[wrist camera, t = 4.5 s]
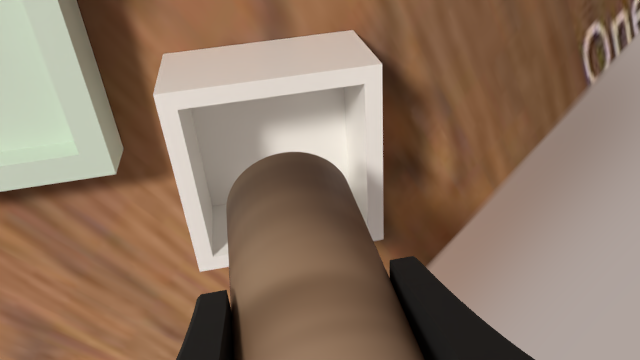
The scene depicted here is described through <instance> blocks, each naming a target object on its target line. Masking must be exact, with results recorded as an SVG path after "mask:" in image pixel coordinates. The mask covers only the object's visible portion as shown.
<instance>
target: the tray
mask: <svg viewBox="0 0 640 360" xmlns="http://www.w3.org/2000/svg"><path fill="white" fill-rule="evenodd" d="M123 150H124V148H123V145H122V142H121V139H120V136H119V133H118V129H117V126H116V123H115V120H114V117H113V114H112V111H111V107H110V104H109V101H108V98H107V95H106V92H105V88H104V85H103V82H102V79H101V76H100V73H99V70H98V66H97V63H96V60H95V57H94V54H93V51H92V47H91V44H90V41H89V38H88V35H87V32H86V28H85V25H84V22H83V19H82V16H81V13H80V10H79V6H78V3H77V0H0V192H2V191H8V190H15V189H21V188H28V187H35V186H41V185H48V184H55V183H61V182H68V181H74V180H81V179H88V178H94V177H101V176H107V175H114V174H116V173H117V169H118V166H119V163H120V159H121V156H122V153H123Z"/></svg>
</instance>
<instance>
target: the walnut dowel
mask: <svg viewBox="0 0 640 360" xmlns="http://www.w3.org/2000/svg"><path fill="white" fill-rule="evenodd" d="M226 216H227V237H228V258H229V278H230V299H231V316H232V337H233V360H425V359H424V357H423V354H422V352H421V350H420V347H419V345H418V343H417V341H416V338H415V336H414V334H413V331H412V329H411V327H410V324H409V322H408V320H407V318H406V315H405V313H404V311H403V308H402V306H401V304H400V301H399V299H398V297H397V295H396V292H395V290H394V288H393V285H392V283H391V281H390V278H389V276H388V274H387V272H386V269H385V267H384V265H383V262H382V260H381V258H380V256H379V253H378V251H377V249H376V246H375V244H374V242H373V239H372V237H371V235H370V233H369V230H368V228H367V226H366V223H365V221H364V219H363V216H362V214H361V212H360V210H359V207H358V205H357V203H356V200H355V198H354V196H353V193H352V191H351V189H350V187H349V184H348V182H347V180H346V178H345V176H344V175H343V174H342V172H341V171H340V170H339V169H338V168H337V167H336V166H335V165H334V164H332V163H331V162H329V161H328V160H326V159H324V158H322V157H320V156H317V155H314V154H310V153H304V152H284V153H279V154H274V155H271V156H268V157H265V158H263V159H261V160H259V161H257V162H256V163H254V164H252V165H251V166H250V167H248V168H247V169H246V170H245V171H244V172H243V173H242V174H241V175H240V176H239V177H238V178H237V180H236V181H235V182H234V184H233V186H232V188H231V190H230V192H229V195H228V199H227V204H226Z"/></svg>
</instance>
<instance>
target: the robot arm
mask: <svg viewBox="0 0 640 360" xmlns="http://www.w3.org/2000/svg"><path fill="white" fill-rule="evenodd" d="M390 281H391V283H392V285H393V288H394V290H395V292H396V295H397V297H398V299H399V301H400V304H401V306H402V308H403V311H404V313H405V315H406V318H407V320H408V322H409V324H410V327H411V329H412V331H413V334H414V336H415V338H416V341H417V343H418V345H419V347H420V350H421V352H422V354H423V357H424V359H425V360H535V359H533V358H532V357H531V356H529V355H528V354H526V353H525V352H523V351H522V350H521V349H519V348H518V347H516V346H515V345H514V344H512V343H511V342H510V341H508V340H507V339H506V338H504V337H503V336H502V335H501V334H500V333H498V332H497V331H496V330H494V329H493V328H492V327H491V326H489V325H488V324H487V323H486V322H485V321H483V320H482V319H481V318H480V317H479V316H477V315H476V314H475V313H474V312H473V311H472V310H471V309H469V308H468V307H467V306H466V305H465V304H464V303H463V302H461V301H460V300H459V299H458V298H457V297H456V296H455V295H454V294H453V293H452V292H451V291H449V290H448V289H447V288H446V287H445V286H444V285H443V284H442V283H441V282H440V281H439V280H438V279H437V278H436V277H435V276H434V275H433V274H432V273H431V272H430V271H429V270H428V269H427V268H426V267H425V266H424V265H423V264H422V263H421V262H420V261H419V260H418V259H417V258H415V257H414V256H411V257H405V258H400V259H394V260H390ZM176 360H233V337H232V316H231V307H230V303H229V299H228V295H227V290H224V291H218V292H212V293H207V294H201V295H200V296H199V297H198V299H197V301H196V305H195V309H194V312H193V316H192V319H191V322H190V325H189V328H188V331H187V333H186V336H185V339H184V342H183V344H182V347H181V349H180V352H179V354H178V356H177V359H176Z"/></svg>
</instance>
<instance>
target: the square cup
mask: <svg viewBox="0 0 640 360" xmlns="http://www.w3.org/2000/svg"><path fill="white" fill-rule="evenodd" d="M153 96H154V100H155V104H156V107H157V111H158V115H159V119H160V122H161V126H162V130H163V134H164V138H165V141H166V145H167V149H168V153H169V157H170V160H171V164H172V168H173V172H174V175H175V179H176V183H177V187H178V191H179V194H180V198H181V202H182V206H183V209H184V213H185V217H186V221H187V225H188V228H189V232H190V236H191V240H192V243H193V247H194V251H195V255H196V259H197V262H198V266H199V270H200V272H201V271H206V270H212V269H218V268H224V267H229V258H228V237H227V216H226V204H227V199H228V195H229V192H230V190H231V188H232V186H233V184H234V182H235V181H236V180H237V178H238V177H239V176H240V175H241V174H242V173H243V172H244V171H245V170H246V169H247V168H248V167H250V166H251V165H252V164H254V163H256V162H257V161H259V160H261V159H263V158H265V157H268V156H271V155H274V154H279V153H284V152H304V153H310V154H314V155H317V156H320V157H322V158H324V159H326V160H328V161H329V162H331V163H332V164H334V165H335V166H336V167H337V168H338V169H339V170H340V171H341V172H342V174H343V175H344V176H345V178H346V180H347V182H348V184H349V187H350V189H351V191H352V193H353V196H354V198H355V200H356V203H357V205H358V207H359V210H360V212H361V214H362V216H363V219H364V221H365V223H366V226H367V228H368V230H369V233H370V235H371V237H372V239H373V241H377V240H383V239H384V235H383V96H382V63H381V62H380V61H379V59H378V58H377V57H376V56H375V55H374V54H373V53H372V51H371V50H370V49H369V48H368V47H367V46H366V45H365V43H364V42H363V41H362V40H361V39H360V38H359V36H358V35H357V34H356V33H355V32H354V31H353V30H350V31H342V32H334V33H326V34H318V35H310V36H302V37H294V38H287V39H279V40H271V41H263V42H255V43H247V44H239V45H231V46H223V47H215V48H207V49H199V50H191V51H184V52H176V53H168V54H163V57H162V61H161V65H160V69H159V73H158V77H157V81H156V85H155V89H154V93H153Z"/></svg>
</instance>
